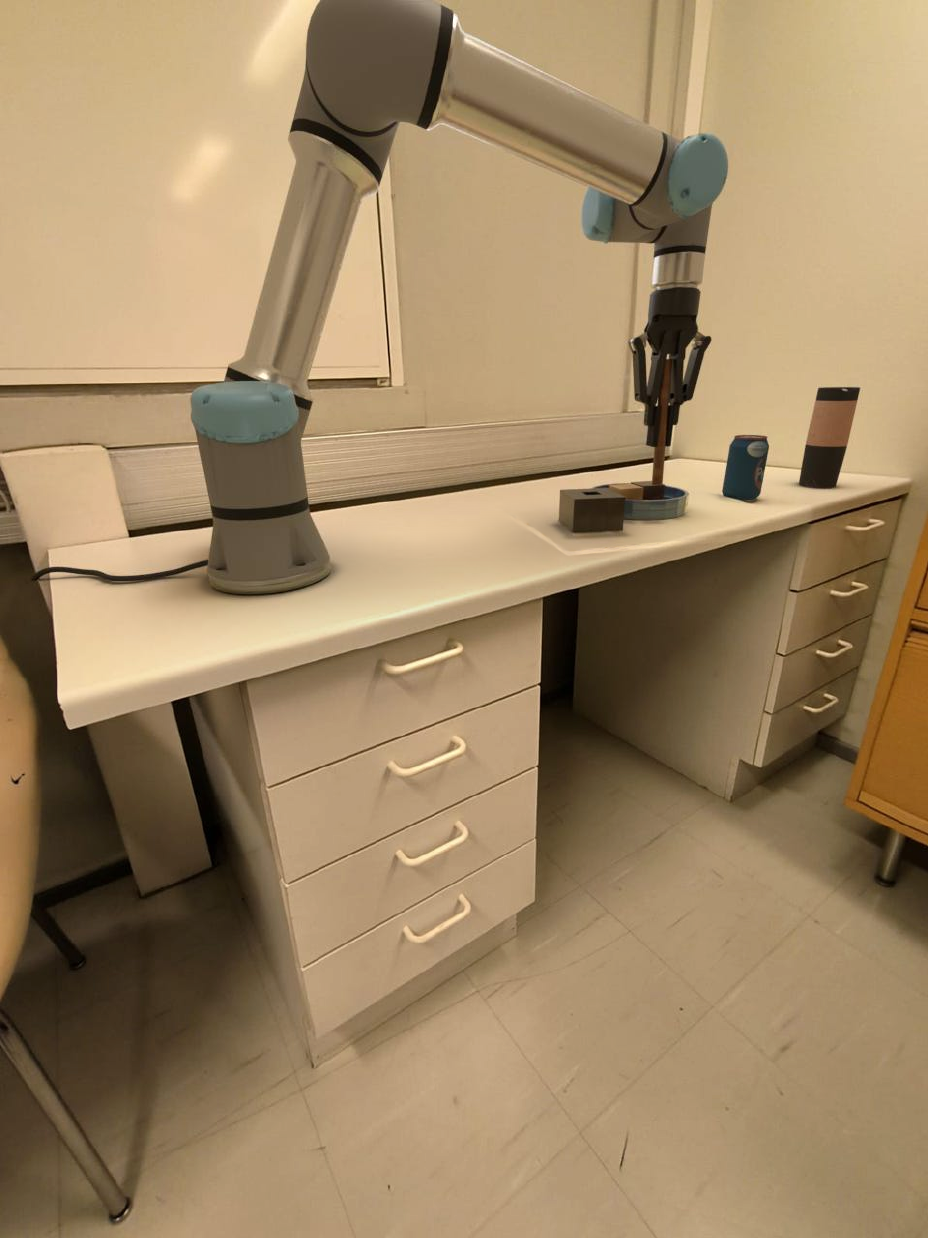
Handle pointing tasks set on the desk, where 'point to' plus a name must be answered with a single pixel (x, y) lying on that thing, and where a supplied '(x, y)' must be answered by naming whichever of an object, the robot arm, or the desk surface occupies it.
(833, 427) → the travel mug
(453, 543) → the desk surface
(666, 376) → the stirring stick
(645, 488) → the walnut block
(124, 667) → the desk surface
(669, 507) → the bowl
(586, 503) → the stand
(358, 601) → the desk surface
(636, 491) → the pine block
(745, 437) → the soda can
